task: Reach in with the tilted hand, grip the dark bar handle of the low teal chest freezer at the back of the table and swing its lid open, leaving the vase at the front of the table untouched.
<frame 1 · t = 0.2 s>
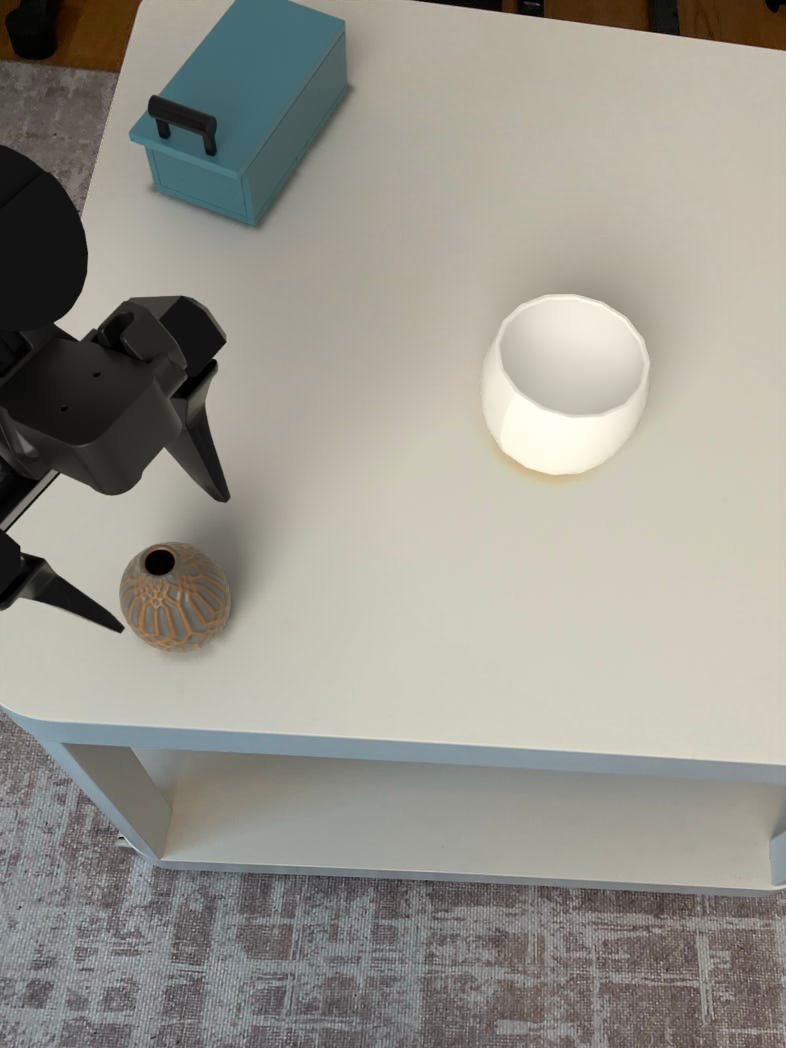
hand: (173, 562, 48), 15 cm above the table, tool tilted 35°, fingers open, 9 cm apart
freezer: (255, 138, 82), on the table
freezer lid: (240, 59, 75), point 8 cm above the table, hinge at 0.0°
cup: (548, 437, 73), on the table
vase: (186, 621, 63), on the table
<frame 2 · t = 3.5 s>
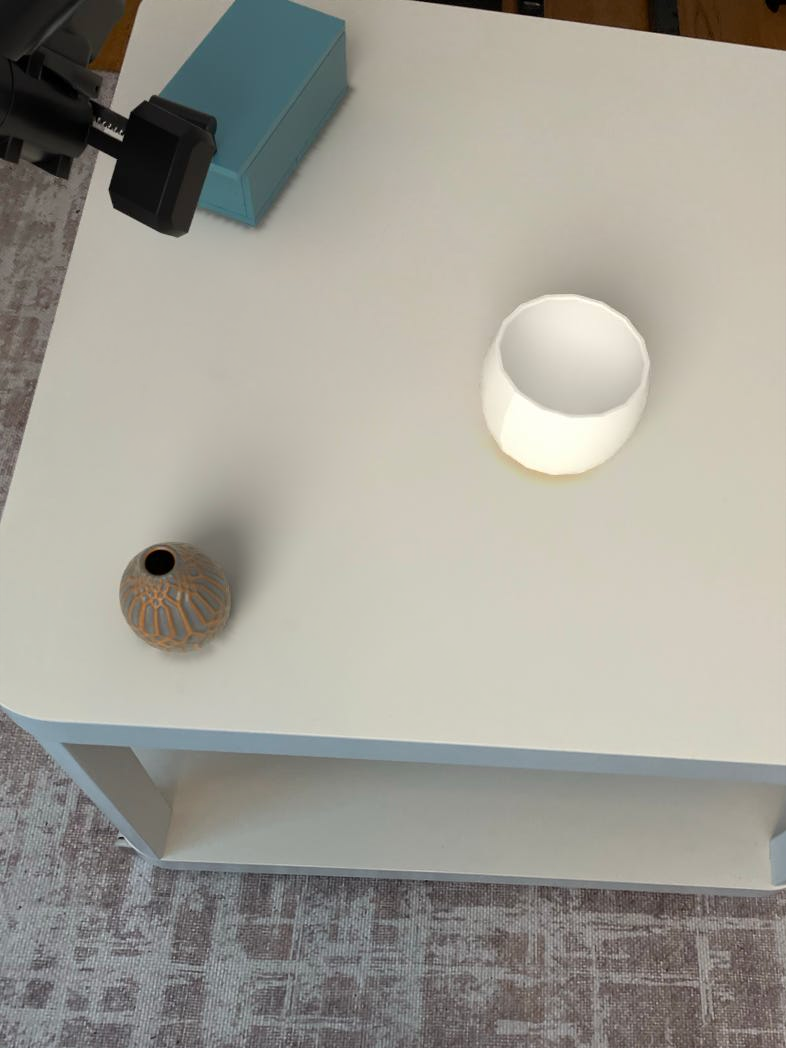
hand: (142, 152, 62), 14 cm above the table, tool tilted 45°, fingers open, 9 cm apart
nothing on the table moved.
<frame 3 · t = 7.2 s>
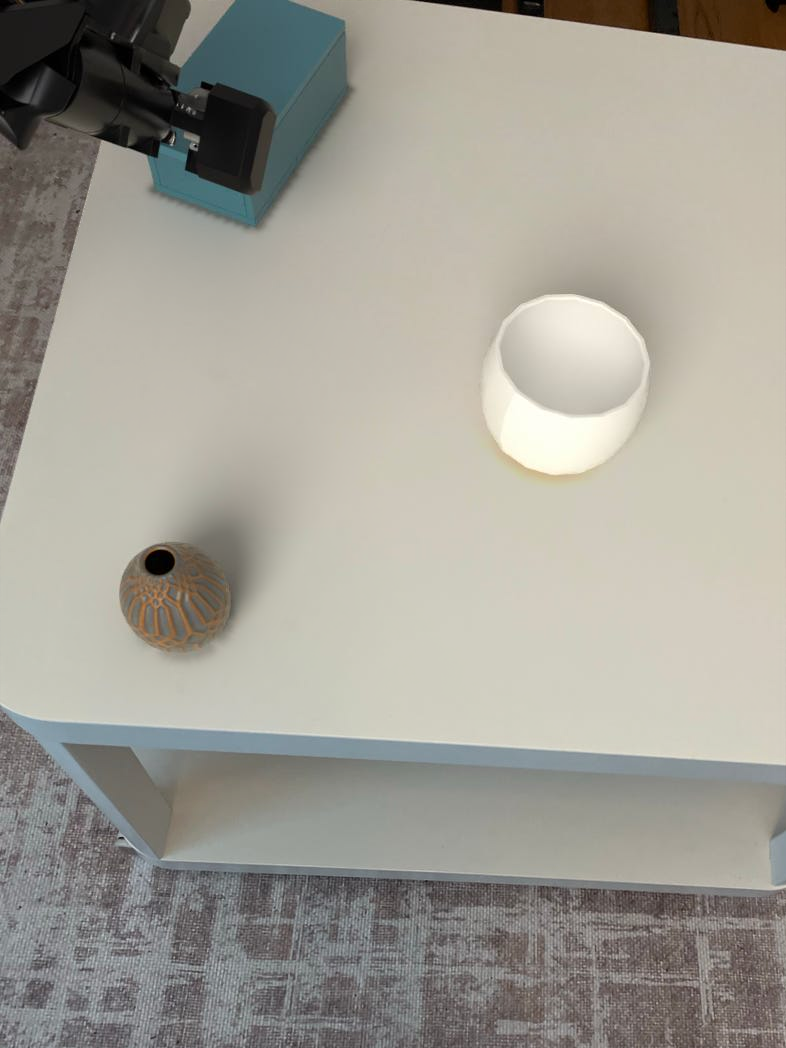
hand: (196, 130, 72), 7 cm above the table, tool tilted 45°, fingers closed on freezer lid, 5 cm apart
freezer lid: (240, 59, 75), point 8 cm above the table, hinge at -0.1°, touching gripper
everything else where it was.
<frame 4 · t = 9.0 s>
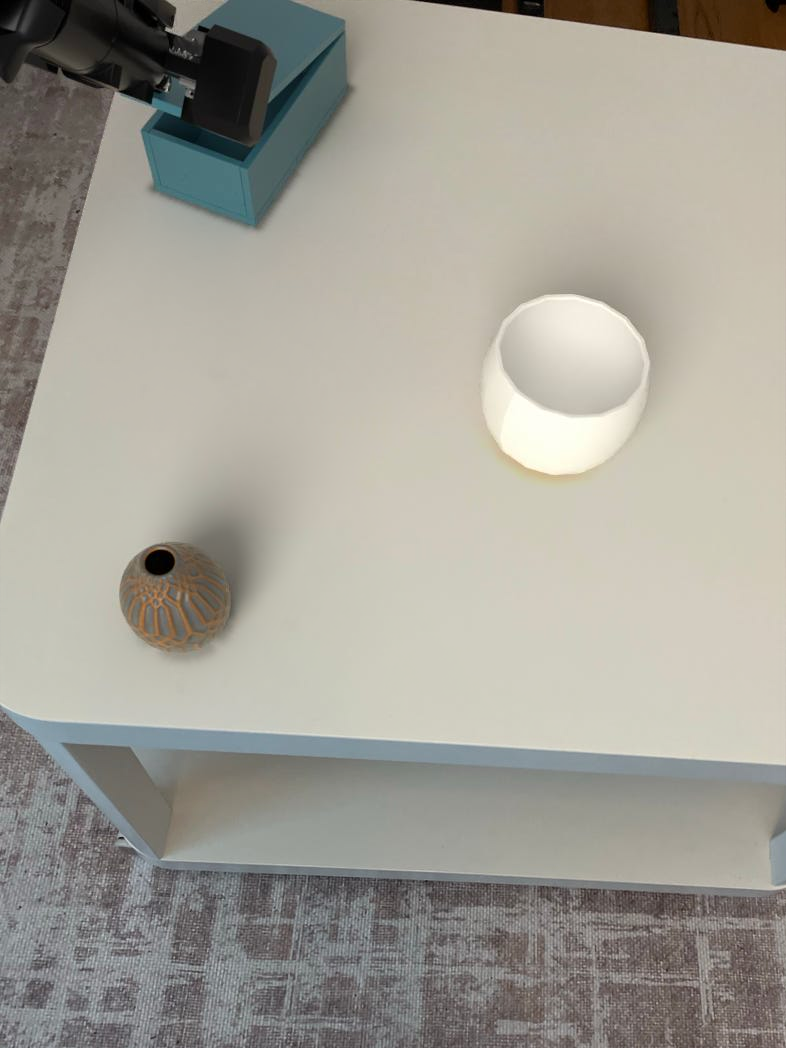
hand: (192, 83, 69), 10 cm above the table, tool tilted 45°, fingers closed on freezer lid, 5 cm apart
freezer lid: (240, 33, 73), point 10 cm above the table, hinge at 10.2°, touching gripper
everything else where it was.
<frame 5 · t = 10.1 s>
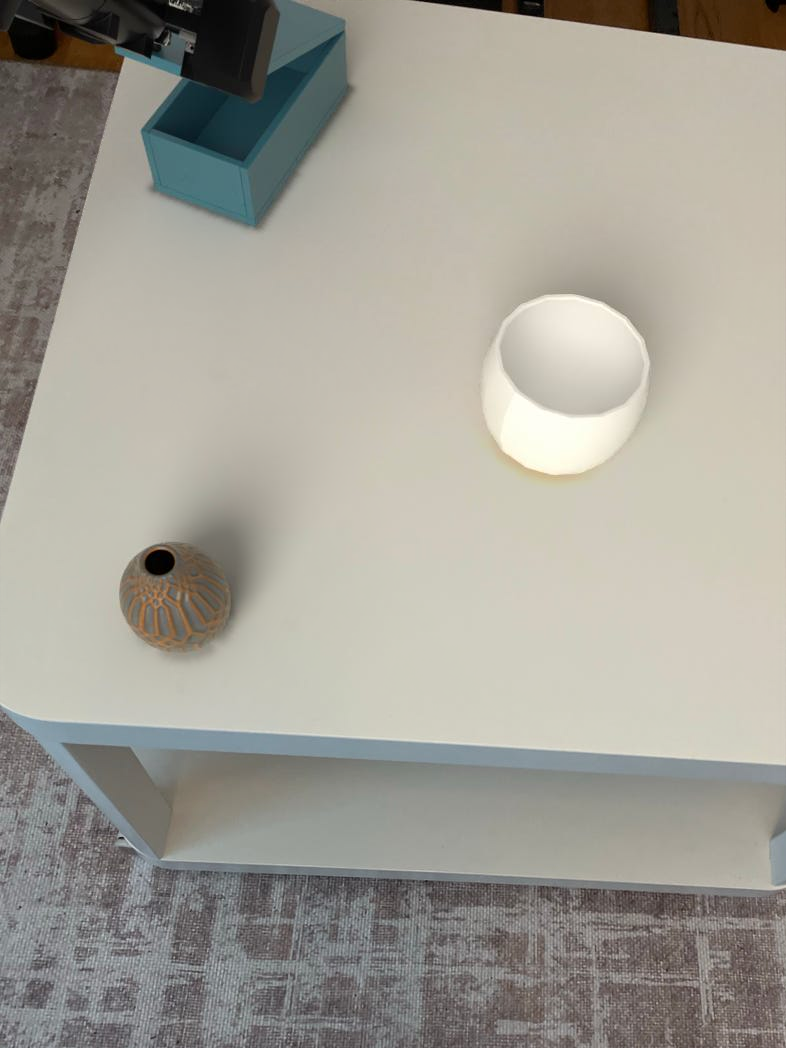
hand: (193, 41, 67), 13 cm above the table, tool tilted 45°, fingers closed on freezer lid, 5 cm apart
freezer lid: (241, 12, 72), point 11 cm above the table, hinge at 18.4°, touching gripper
everything else where it was.
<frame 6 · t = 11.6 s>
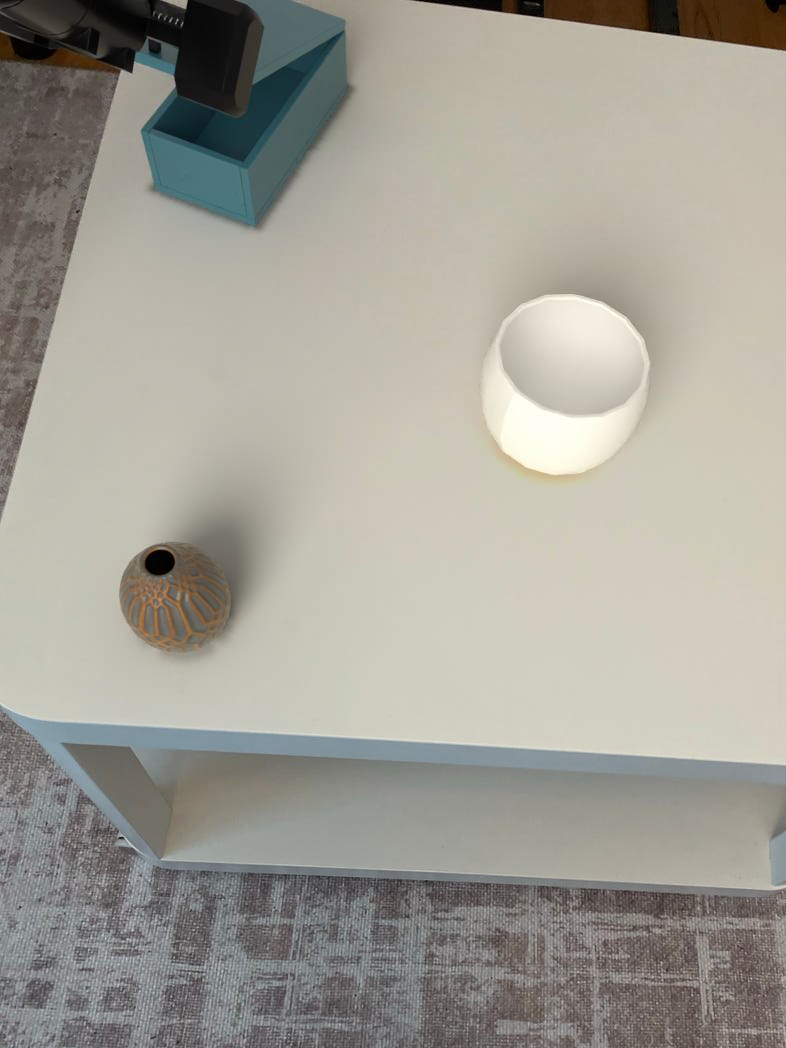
hand: (177, 53, 66), 13 cm above the table, tool tilted 45°, fingers open, 9 cm apart
freezer lid: (241, 12, 72), point 11 cm above the table, hinge at 18.1°, touching gripper
everything else where it was.
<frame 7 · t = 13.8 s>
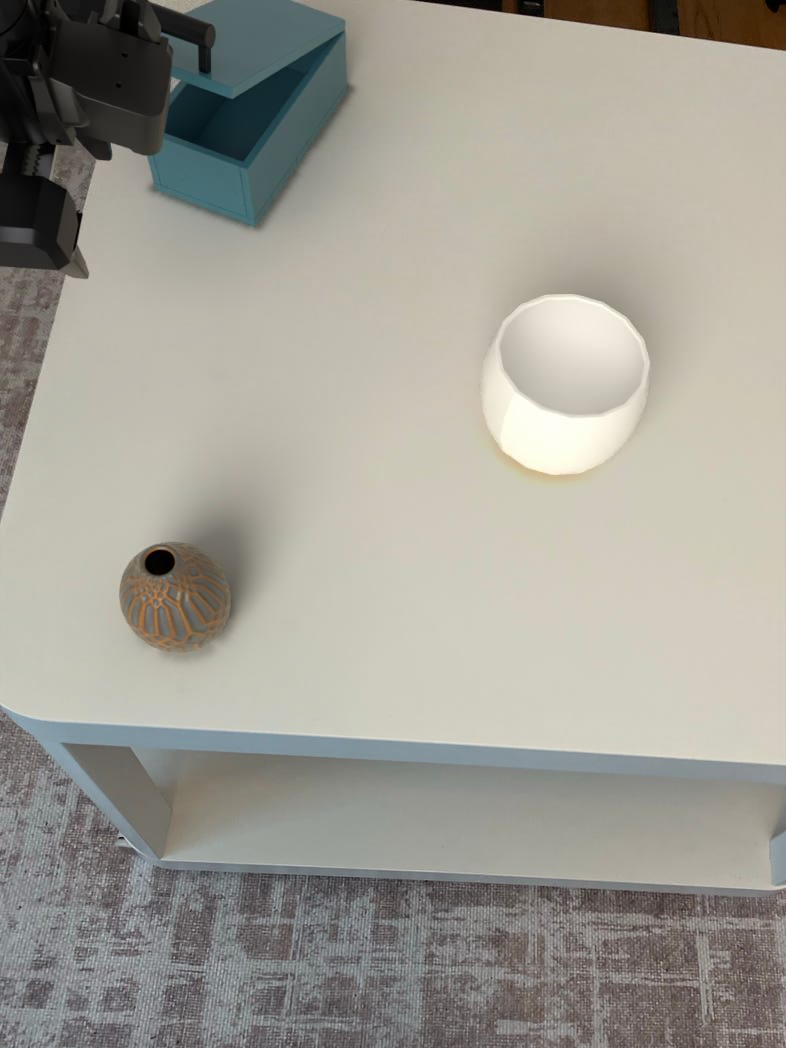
hand: (93, 216, 60), 12 cm above the table, tool pointing down, fingers open, 9 cm apart
freezer lid: (240, 13, 72), point 11 cm above the table, hinge at 17.7°
everything else where it was.
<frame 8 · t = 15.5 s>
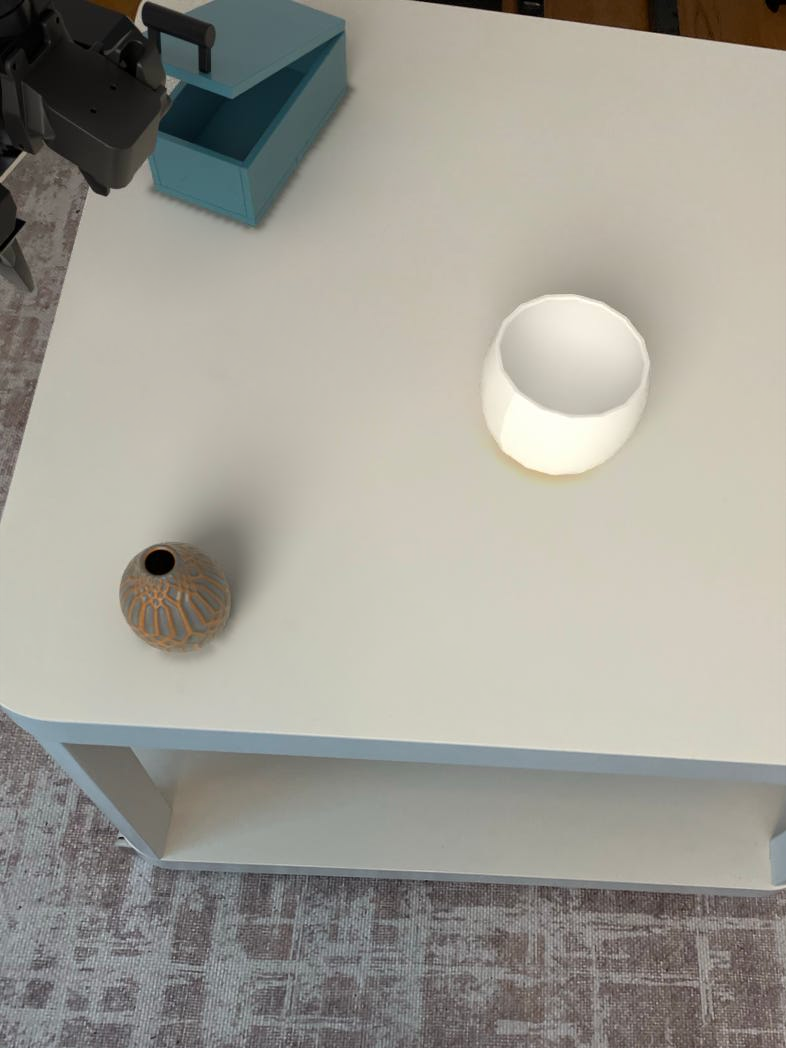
hand: (65, 239, 59), 13 cm above the table, tool pointing down, fingers open, 9 cm apart
nothing on the table moved.
at the end: freezer lid at +18° (first picture: +0°); vase moved 0.2 cm from its start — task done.
